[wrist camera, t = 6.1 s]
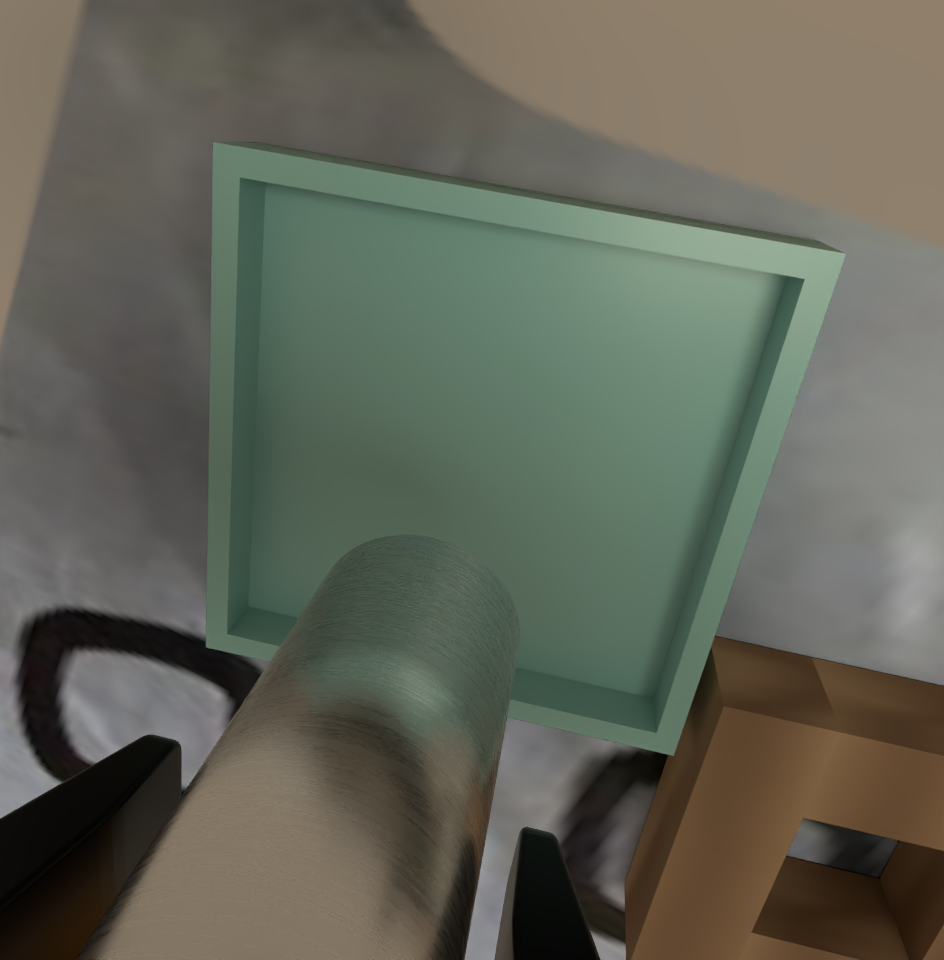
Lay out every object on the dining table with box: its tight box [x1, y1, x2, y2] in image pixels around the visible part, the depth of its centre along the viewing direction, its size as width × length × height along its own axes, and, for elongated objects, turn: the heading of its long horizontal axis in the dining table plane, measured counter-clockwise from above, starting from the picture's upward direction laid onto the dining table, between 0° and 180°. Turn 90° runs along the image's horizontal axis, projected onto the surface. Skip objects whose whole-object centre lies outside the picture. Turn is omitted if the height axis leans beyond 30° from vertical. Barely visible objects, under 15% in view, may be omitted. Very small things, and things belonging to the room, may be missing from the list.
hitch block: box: [625, 636, 944, 960], centre depth 22 cm, size 10×10×3 cm
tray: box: [206, 142, 846, 756], centre depth 19 cm, size 13×13×2 cm
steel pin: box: [75, 535, 520, 960], centre depth 9 cm, size 5×5×10 cm
